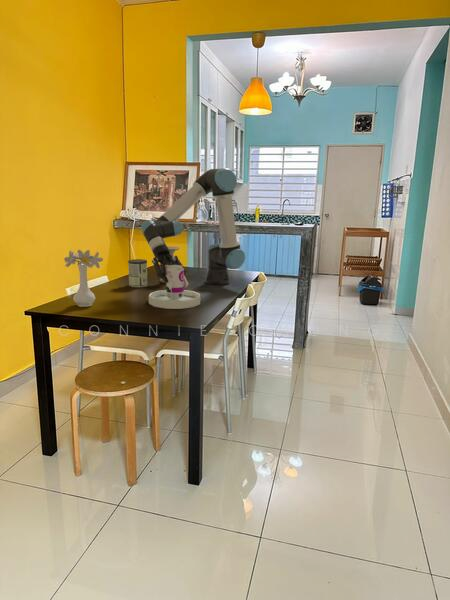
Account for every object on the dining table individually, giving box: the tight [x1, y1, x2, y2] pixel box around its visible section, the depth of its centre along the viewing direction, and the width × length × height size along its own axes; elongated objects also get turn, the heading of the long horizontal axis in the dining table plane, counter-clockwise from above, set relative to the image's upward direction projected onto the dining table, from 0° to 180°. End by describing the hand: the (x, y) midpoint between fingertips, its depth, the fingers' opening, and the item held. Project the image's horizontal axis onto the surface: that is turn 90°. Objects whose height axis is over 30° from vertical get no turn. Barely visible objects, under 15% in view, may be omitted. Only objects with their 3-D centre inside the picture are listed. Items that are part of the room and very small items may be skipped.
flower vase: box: [63, 249, 104, 308], centre depth 182 cm, size 13×18×25 cm
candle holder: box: [159, 246, 180, 284], centre depth 241 cm, size 12×12×20 cm
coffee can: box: [127, 258, 148, 288], centre depth 228 cm, size 10×10×14 cm
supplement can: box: [165, 265, 185, 299], centre depth 193 cm, size 8×8×15 cm
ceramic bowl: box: [148, 289, 201, 310], centre depth 195 cm, size 24×24×4 cm
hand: (179, 286), depth 191 cm, fingers closed on supplement can, 8 cm apart
